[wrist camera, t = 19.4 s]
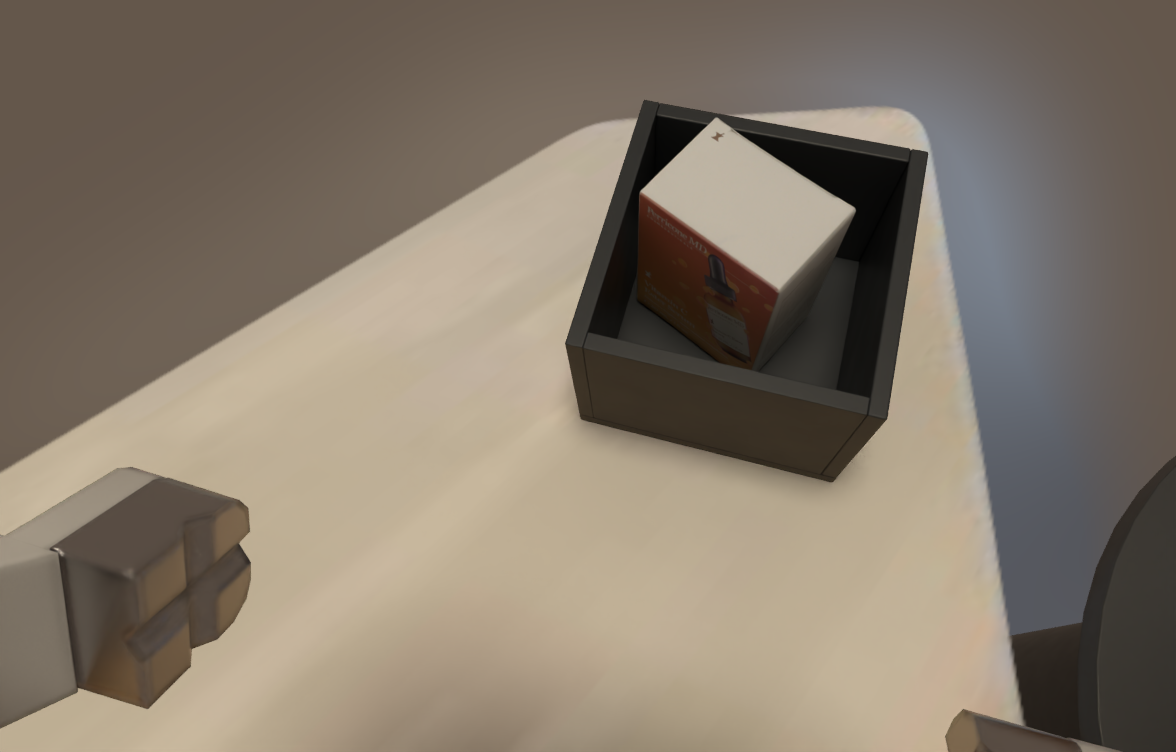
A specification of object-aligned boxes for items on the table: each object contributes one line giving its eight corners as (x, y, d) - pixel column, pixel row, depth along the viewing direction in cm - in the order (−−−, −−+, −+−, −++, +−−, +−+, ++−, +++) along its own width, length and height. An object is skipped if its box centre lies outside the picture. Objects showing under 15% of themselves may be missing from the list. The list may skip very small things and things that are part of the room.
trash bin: (871, 260, 46) (929, 151, 37) (832, 482, 41) (887, 419, 32) (643, 213, 48) (643, 99, 39) (580, 419, 43) (564, 343, 34)
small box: (634, 300, 45) (633, 189, 35) (698, 235, 46) (713, 111, 36) (747, 387, 42) (779, 294, 33) (810, 316, 44) (860, 206, 34)
